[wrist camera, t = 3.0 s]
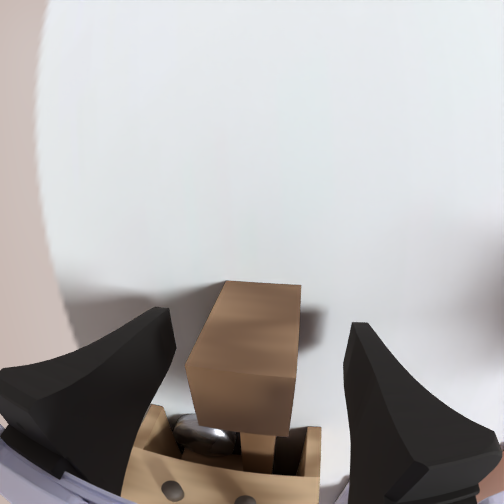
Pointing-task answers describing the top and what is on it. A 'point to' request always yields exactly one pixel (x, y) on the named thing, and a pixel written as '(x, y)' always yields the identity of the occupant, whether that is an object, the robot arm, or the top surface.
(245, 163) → the top surface
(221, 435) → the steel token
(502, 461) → the utensil crock
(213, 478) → the bread box
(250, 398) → the wooden mallet
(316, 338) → the top surface
